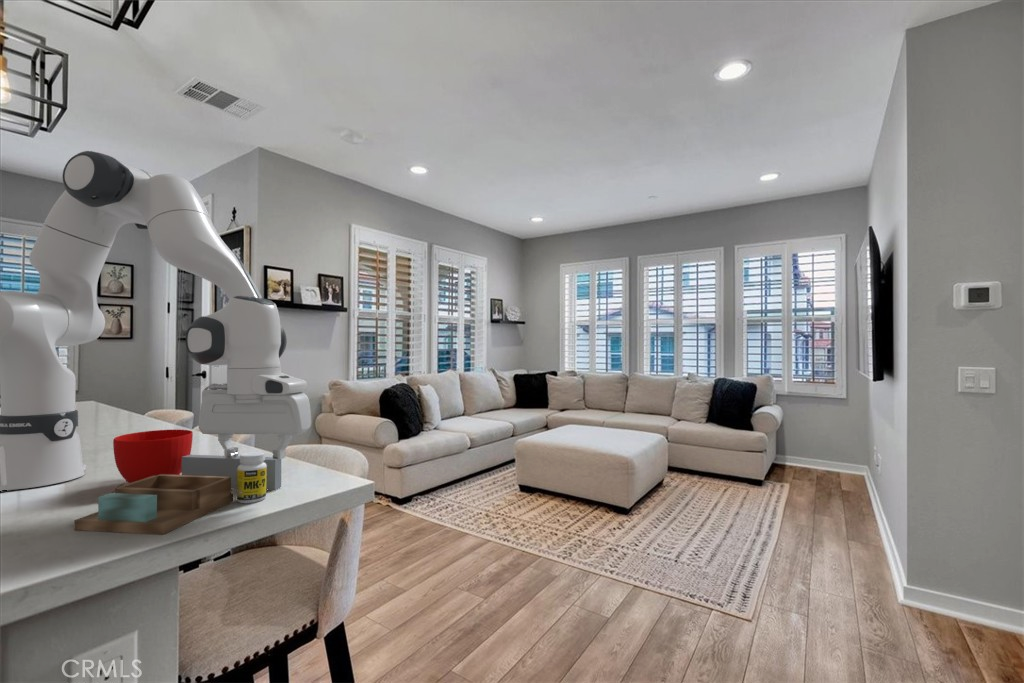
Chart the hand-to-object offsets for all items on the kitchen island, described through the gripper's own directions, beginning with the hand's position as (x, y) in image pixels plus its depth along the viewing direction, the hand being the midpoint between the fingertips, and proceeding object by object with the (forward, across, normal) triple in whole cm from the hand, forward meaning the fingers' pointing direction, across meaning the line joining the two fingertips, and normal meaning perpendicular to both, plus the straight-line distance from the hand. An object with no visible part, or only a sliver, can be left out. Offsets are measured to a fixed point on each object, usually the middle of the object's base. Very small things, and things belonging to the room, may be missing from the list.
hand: (255, 458), depth 87 cm
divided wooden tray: (+7, -11, -9) cm, 16 cm away
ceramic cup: (+7, -28, +8) cm, 30 cm away
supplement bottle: (+8, 0, 0) cm, 8 cm away
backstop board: (+7, -10, +6) cm, 14 cm away
